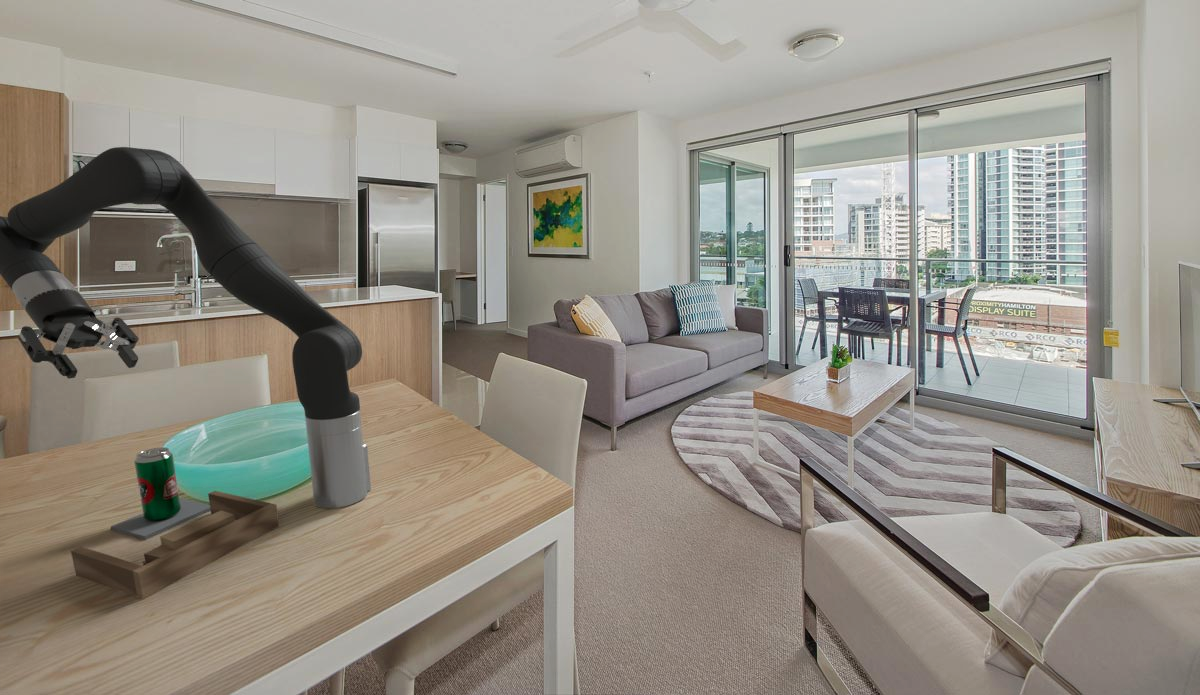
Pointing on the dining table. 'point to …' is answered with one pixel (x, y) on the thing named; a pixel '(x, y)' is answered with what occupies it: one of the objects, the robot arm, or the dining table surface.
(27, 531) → the dining table surface
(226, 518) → the offcut stack
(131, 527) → the mat
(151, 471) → the soda can
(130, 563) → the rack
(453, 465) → the dining table surface
